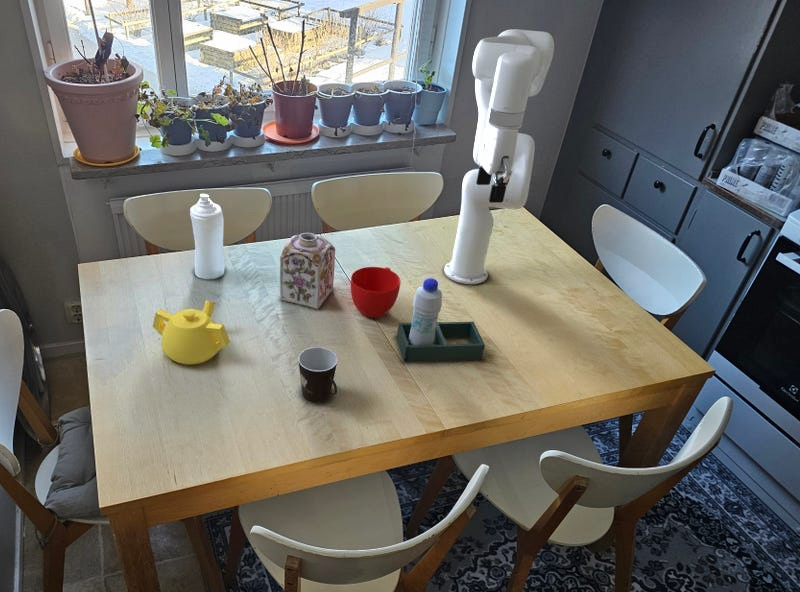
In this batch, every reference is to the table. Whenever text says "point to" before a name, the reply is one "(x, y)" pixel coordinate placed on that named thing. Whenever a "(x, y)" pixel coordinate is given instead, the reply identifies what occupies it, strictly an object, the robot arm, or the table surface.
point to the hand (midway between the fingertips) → (489, 192)
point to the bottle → (425, 313)
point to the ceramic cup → (374, 290)
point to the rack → (442, 343)
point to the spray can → (208, 238)
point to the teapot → (190, 334)
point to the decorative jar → (307, 270)
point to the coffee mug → (317, 373)
